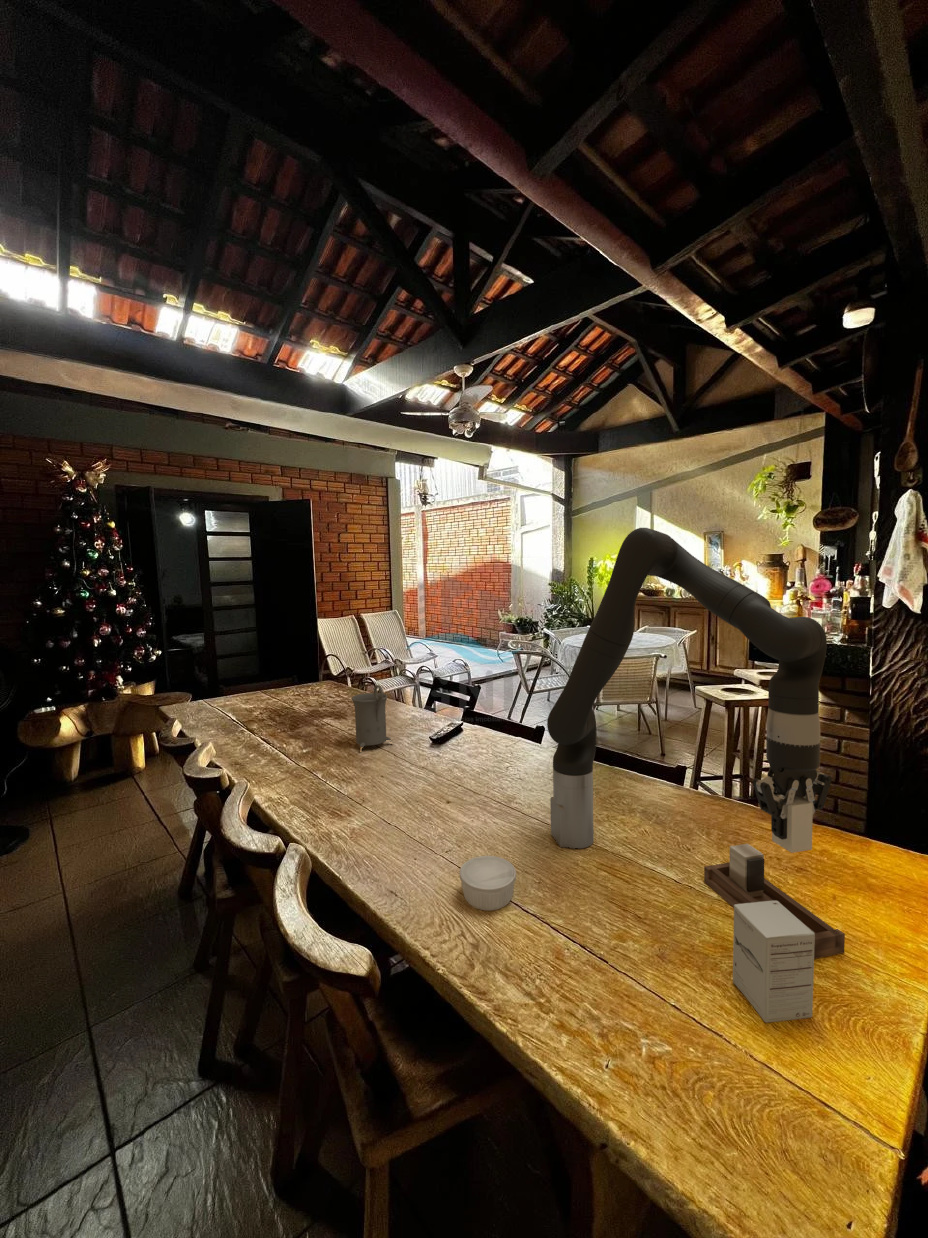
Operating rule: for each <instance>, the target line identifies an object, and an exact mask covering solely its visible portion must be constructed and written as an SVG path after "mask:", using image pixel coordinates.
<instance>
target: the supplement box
mask: <svg viewBox="0 0 928 1238" xmlns="http://www.w3.org/2000/svg"><path fill="white" fill-rule="evenodd" d="M732 939H733V943H732V945H733V946H732V947H733V949H732V952H733V953H732V983H733V984H734V985H735V986H736V987H737V988H738V990H739V991H740V992H741V993H742V994H743V996H744V997H745V998H746V999H747V1001H748V1002H749V1003H750V1004H751V1006H752V1008H754V1010H755V1011H756V1012H757V1013H758V1015H759V1016H760V1018H761V1019H762V1020H763V1022H764V1023H775V1022H776V1023H777V1022H784V1021H794V1020H803V1019H810V1018H813V1006H814V1001H813V1000H814V972H815V971H814V969H815V959H814V945H815V934H814V932H813V931H811V930H810V929H809V928H808V927H807V926H806V925H804V924H803V923H802V922H801V921H800V920H799V919H798V918H796V916H794V915H793V914H792V913H791V912H790V911H789V910H787V909H786V908H785V907H784V906H783V905H782V904H781V903H780V902H778V901H763V902H753V903H743V904H735V905H734V907H733V938H732Z"/></svg>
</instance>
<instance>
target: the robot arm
mask: <svg viewBox="0 0 928 1238" xmlns="http://www.w3.org/2000/svg"><path fill="white" fill-rule="evenodd" d="M648 576H649V577H657V578H659V579H662V580H665V581H668V582H670V583H672V584H674V585H676V586H678V587H679V588H681V589H683V590H684V591H686V592H687V593H688V594H690V595H691V596H692V597H693V598H694V599H695V600H696V601H697V602H698V603H700V604H701V605H702V607H703V608H705V609H706V610H708V611H709V612H710V613H712V614H713V615H715V616H716V617H718V618H719V619H721V620H722V621H724V622H725V623H727V624H729V625H730V626H732V627H734V628H736V629H737V630H739V631H740V633H742V635H743V636H745V637H746V639H747V640H749V641H750V643H752V644H753V645H754V646H755V647H756V648H757V649H758V650H760V651H761V652H763V653H764V654H765V655H767V656H768V657H770V658H772V659H775V660H777V661H778V668H777V669H776V670H777V671H776V672H775V674H773V675H772V676H771V677H770V679H769V682H768V696H767V697H768V700H767V701H768V702H767V703H768V709H767V715H766V733H765V734H766V746H765V747H766V753H765V756H766V760H767V762H768V765H769V769H768V772H767V775H766V777H764V778H762V779H759V778H756V777H755V778H754V779H752V785H753V789H754V791H755V792H754V793H755V796H756V799H757V802H758V805H759V808H760V810H761V811H763V812H765V813H767V814H769V815H770V816H772V828H771V827H770V828H771V829H770V830H772V831H771V833H772V832H773V833H774V835H775V836H777V837H778V838H780V839H782V840H783V839H787V818H786V817H787V813H788V806H790V805H792V804H793V800H794V797H796V796H797V797H799V798H801V799H803V800H805V801H807V802H811V803H813V809H812V816H813V815H814V814H815V812H816V810H819V811H821V810H823V809H824V808H825V803H826V801H827V797H828V794H829V790H830V787H831V783H832V780H833V779H832V776H830V775H828V774H827V773H823V772H821V771H818V769H819V767H820V766H821V721H820V713H819V712H820V710H819V708H820V707H819V706H820V704H819V703H820V692H819V689H820V688H819V685H820V681H821V677H822V674H823V669H824V665H825V661H826V656H827V655H826V654H827V645H828V642H827V641H828V640H827V636H826V631H825V629H824V628H823V626H822V625H821V624H820V623H819V622H818V621H817V620H815V619H813V618H811V617H807V616H796V617H795V616H794V617H787V616H785V615H784V614H782V613H780V612H779V611H777V610H775V609H774V608H772V606H771V602H770V601H769V600H768V599H767V598H766V597H765V596H764V595H762V594H760V593H759V592H757V591H755V590H753V589H751V588H750V587H748V586H746V585H744V584H742V583H741V582H738V581H737V580H736V579H733V578H731V577H730V576H728V575H725V574H723V573H721V572H719V571H717V570H716V569H714V568H712V567H710V566H708V565H707V564H705V563H704V562H702V561H701V560H700V559H698V558H697V557H695V556H694V555H693V554H691V553H690V552H689V551H688V550H687V549H686V548H684V547H683V546H682V545H681V544H679V543H678V542H677V541H676V540H675V539H674V538H673V537H671V536H670V535H668V534H666V533H664V532H661V531H658V530H654V529H652V528H648V527H638V528H635V529H634V530H632V531H630V532H629V533H628V534H627V535H626V537H625V538H624V540H623V541H622V543H621V546H620V547H619V551H618V553H617V556H616V559H615V562H614V565H613V568H612V572H611V575H610V578H609V582H608V584H607V587H606V589H605V592H604V595H603V596H602V598H601V601H600V603H599V605H598V608H597V611H596V613H595V615H594V618H593V620H592V622H591V624H590V626H589V629H588V630H587V632H586V634H585V637H584V639H583V642H582V645H581V647H580V649H579V652H578V655H577V657H576V659H575V661H574V664H573V666H572V668H571V671H570V674H569V677H568V680H567V682H566V684H565V686H564V688H563V689H562V690H561V693H560V695H559V697H558V698H557V700H556V702H555V704H554V705H553V707H552V708H551V709H550V712H549V714H548V716H547V721H546V722H547V724H546V727H547V731H548V734H549V736H550V737H551V739H552V740H553V742H555V743H556V744H557V747H556V750H555V752H554V753H553V757H552V782H553V783H552V785H553V786H552V787H553V788H552V789H553V790H552V795H553V796H550V801H549V802H550V835H551V837H552V836H553V837H554V838H553V837H552V838H553V840H554V839H555V840H556V841H555V840H554V841H555V842H556V844H557V843H558V844H559V845H558V844H557V845H558V846H559V848H568V847H569V849H575V848H578V849H585V848H588V847H590V846H591V845H593V843H594V841H593V840H594V839H595V838H594V837H595V836H594V834H595V833H594V831H595V830H594V785H593V784H594V771H593V770H594V767H593V766H594V761H595V760H594V759H595V757H596V748H597V746H596V744H597V741H596V740H597V721H596V715H595V712H594V710H593V706H594V704H595V702H596V700H597V698H598V696H599V695H600V693H601V691H602V690H603V689H604V688H605V686H606V685H607V684H608V683H609V681H610V680H611V678H612V677H613V675H614V674H615V673H616V672H617V670H618V668H619V667H620V665H621V663H622V662H623V660H624V657H625V655H626V653H627V651H628V650H629V649H628V648H629V647H630V645H631V643H632V640H633V637H634V633H635V610H636V608H635V606H636V603H637V598H638V596H639V594H640V592H641V589H642V587H643V584H644V583H645V581H646V578H647V577H648ZM780 795H783V796H785V798H783V797H781V796H780ZM816 795H817V799H815V798H816ZM778 802H780V803H781V806H780V809H779V808H778Z"/></svg>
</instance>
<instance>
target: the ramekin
mask: <svg viewBox="0 0 928 1238" xmlns="http://www.w3.org/2000/svg"><path fill="white" fill-rule="evenodd" d="M459 880H460V882H461V887H462V892H463V896H464V899H465V900H466V902H467V903H468V904H469V905H470V906H471V907H473V908H475V909H477V910H481V911H485V912H486V911H488V912H489V911H496V910H500V909H502V908H505V907H506V906H507V905H508V904H509V903H510V902H511V900H512V898H513V896H514V888H515V882H516V880H517V871H516V868H515V866H514V864H512V862H510V861H509V860H507V859H505V858H503V857H500V856H495V855H481V856H476V857H472V858H470V859H468V860H467V861H465V862H464V863H463V864H462V865H461V867H460V869H459Z"/></svg>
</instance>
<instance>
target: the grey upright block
mask: <svg viewBox="0 0 928 1238" xmlns="http://www.w3.org/2000/svg"><path fill="white" fill-rule="evenodd" d="M779 795H780V796H781V797H783V798H785V796H783V795H781V794H779ZM780 806H781V803H780V802H778V808H779V809H780ZM812 809H813V803H811V802H807V801H805V800H803V799H801V798H799V797H797V796H796V797H794V800H793V804H792V805H790V806H788V813H787V817H786V818H787V839H783V840H782V839H780V838H778V837H777V836H775V835H774V833H773V832H772V830H771V829H770V830H771V841H772V842H773V843H774V844H776V845H778V846H780V847H782V848H783V849H785V850H786V851H788V852H790V853H792V854H794V853H799V852H804V851H805V852H806V851H812V850H813V815H812ZM770 816H771V815H770ZM770 822H771V823H770V824H771V826H770V828H772V816H771V818H770Z"/></svg>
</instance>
